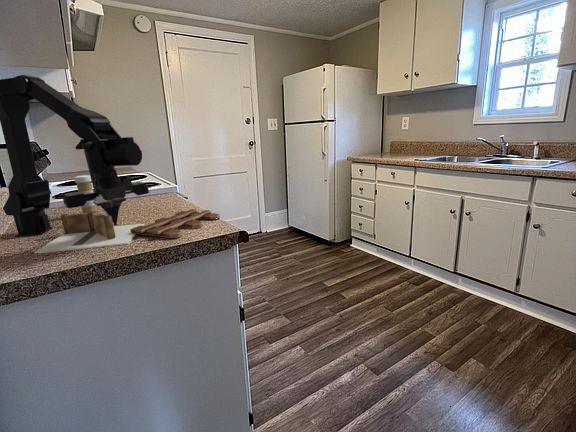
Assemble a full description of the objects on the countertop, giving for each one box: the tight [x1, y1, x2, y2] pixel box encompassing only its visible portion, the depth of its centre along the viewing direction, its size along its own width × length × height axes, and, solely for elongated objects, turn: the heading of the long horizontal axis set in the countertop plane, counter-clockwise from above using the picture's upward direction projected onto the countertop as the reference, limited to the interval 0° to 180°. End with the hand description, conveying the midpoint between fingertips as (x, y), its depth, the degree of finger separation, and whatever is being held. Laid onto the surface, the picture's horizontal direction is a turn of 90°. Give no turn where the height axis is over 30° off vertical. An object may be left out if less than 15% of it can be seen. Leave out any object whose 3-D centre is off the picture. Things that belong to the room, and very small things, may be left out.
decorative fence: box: [130, 208, 221, 239], centre depth 89 cm, size 23×2×15 cm
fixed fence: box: [60, 210, 99, 233], centre depth 85 cm, size 9×2×5 cm, turn 102°
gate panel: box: [92, 212, 115, 239], centre depth 81 cm, size 11×2×6 cm, turn 48°
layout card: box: [34, 223, 145, 255], centre depth 81 cm, size 20×17×1 cm
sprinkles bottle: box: [74, 174, 98, 213], centre depth 104 cm, size 5×5×13 cm
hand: (115, 225), depth 82 cm, fingers closed
